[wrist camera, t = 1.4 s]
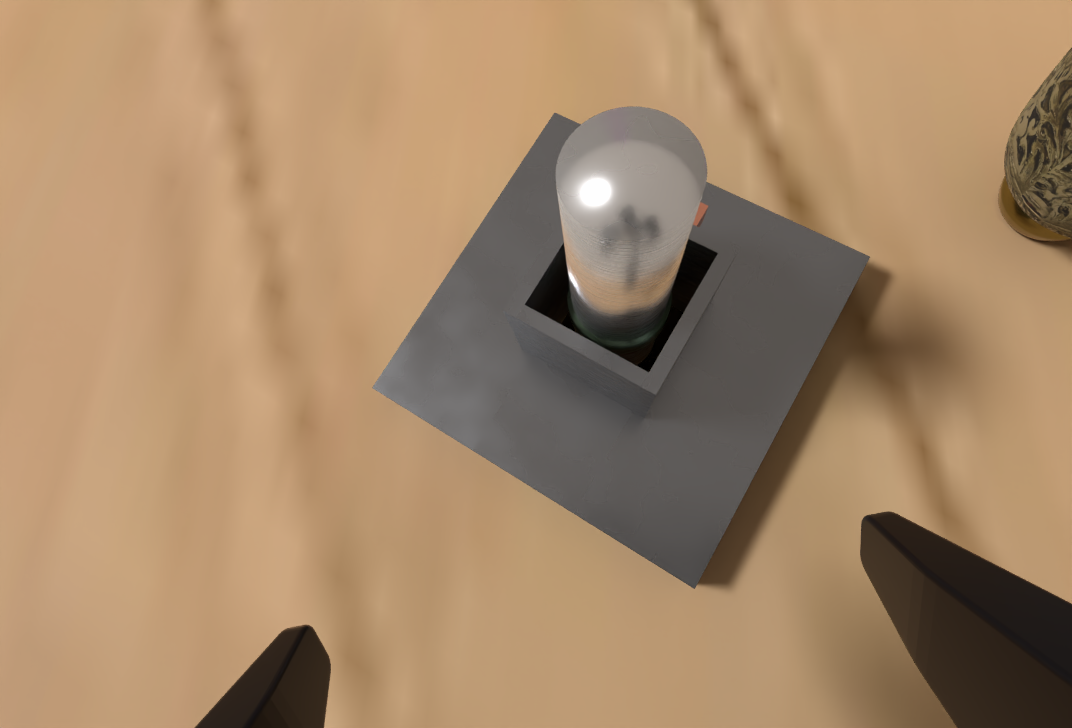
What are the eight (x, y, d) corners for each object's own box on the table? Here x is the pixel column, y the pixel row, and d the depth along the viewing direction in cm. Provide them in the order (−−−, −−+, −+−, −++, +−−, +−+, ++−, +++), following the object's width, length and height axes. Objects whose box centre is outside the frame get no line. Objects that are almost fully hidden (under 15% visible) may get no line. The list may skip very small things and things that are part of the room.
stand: (853, 272, 24) (935, 194, 18) (688, 583, 21) (720, 610, 16) (557, 134, 27) (545, 29, 21) (385, 395, 24) (319, 359, 19)
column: (675, 317, 24) (744, 140, 12) (632, 390, 23) (663, 275, 12) (599, 278, 24) (599, 77, 13) (557, 348, 24) (518, 201, 13)
